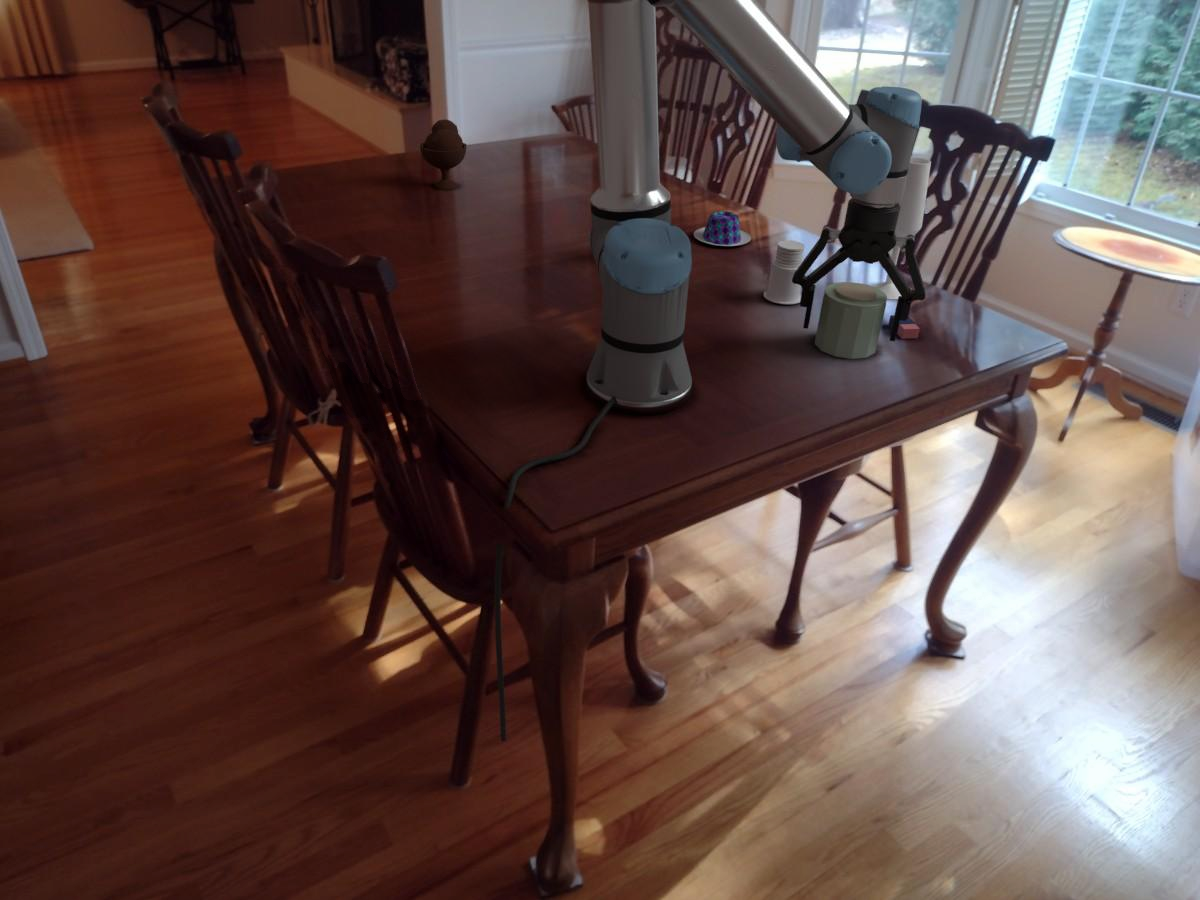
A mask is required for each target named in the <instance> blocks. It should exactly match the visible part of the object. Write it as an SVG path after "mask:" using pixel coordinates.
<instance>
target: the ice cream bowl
mask: <svg viewBox="0 0 1200 900" xmlns="http://www.w3.org/2000/svg"><path fill="white" fill-rule="evenodd" d="M419 150H420V153H421V156H422V157H423V159H424V160H425V161H426V162H427V163H428V164H429V165H430V166H431V167H434V168H435V169H439V170H440V172H441V179H439V180H437V181H436V182H435V184H434V188H435V189H438V190H444V191H446V190H454V189H456V188H458V184H457V182H455V181H454V180H452V179H451V178H450V173H449V172H450V170H451V169H453V168H456V167H457V166H459V165H460V164H461V163H462V162H463V160H464V159H465V157H466V154H467V143H465V142H463V138H462V136H461V135H460V133H459V129H458V126H457V124H456V123H454V122H453V121H452V120H449V119H438V120H437V121H436V122H435V123H434V124H433V125H432V126H431V132H430V133H429V134H428V135H427V136H426V138H425V140H424V142H422V143H420V146H419Z"/></svg>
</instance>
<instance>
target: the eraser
mask: <svg viewBox="0 0 1200 900" xmlns="http://www.w3.org/2000/svg"><path fill="white" fill-rule="evenodd" d="M894 315H895V314H893V315H890V316H889V320H888V327H889V328H890V329H891V328H892V323H893V319H894ZM920 329H921V328H920V327H919V326H918V325H917V324H916V322H915V321H914V320H912V318H910V317H909V316H908V318H907V320H906V321H902V320H900V321H899V325H898V329H897V334H896V335H898V337H899V338H900V339H901V340H906V339H907V340H908V339H918V337H919V334H920Z"/></svg>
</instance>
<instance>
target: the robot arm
mask: <svg viewBox="0 0 1200 900" xmlns="http://www.w3.org/2000/svg"><path fill="white" fill-rule="evenodd" d="M586 1H587V3H588V15H589V16H588V18H589V19H588V20H589V34H590V49H591V51H590V53H591V67H592V82H593V96H594V110H595V111H594V114H595V115H594V116H595V130H596V146H597V161H598V179H599V187H598V188H597V189H596V190H595V191H594V192H593V194H592V195H591V197H590V200H589V201H590V215H591V228H590V234H589V242H590V249H591V253H592V256H593V258H594V260H595V264H596V268H597V272H598V275H599V280H600V283H601V321H600V322H601V323H600V324H601V325H600V326H601V327H600V339H599V341H598V344H597V347H596V349H595V352H594V354H593V357H592V359H591V362H590V365H589V367H588V369H587V372H586V391H587V394H588V395H589V396H590V398H592V400H593V401H595V402H596V403H598V404H600V405H601V406H603V408H602V409H601V410H600V411H599V413H598V414H597V416H596V417H595V418H594V419H593V421H592V422H591V423H590V425H589V426H588V428H587V429H586V431H585V433H584V436H583V437H582V439H581V440H580V442H579V443H578V444H577V445H576V446H574V447H573V448H571V449H569V450H567V451H564V452H561V453H557V454H553V455H549V456H545V457H540V458H536V459H534V460H531V461H529V462H527V463H525V464H524V465H522V466H520V467H519V468H518V469H517V470H515V472H513V474H512V476H511V478H510V481H509V485H508V489H507V493H506V496H505V499H504V502H503V509H509V508H510V506H511V504H512V500H513V497H514V494H515V490H516V485H517V483H518V480H519V478H520V477H521V476H522V475H523V474H524V473H525V472H526V471H528V470H530V469H532V468H534V467H538V466H541V465H545V464H549V463H553V462H557V461H562V460H564V459H567V458H570V457H572V456H573V455H575V454H577V453H578V452H580V451H581V450H582V449H583V448H584V447H585V446H586V445H587V444H588V442H589V440H590V438H591V436H592V434H593V432H594V430H595V429H596V427H597V426H598V425H599V423H600V422H601V421H602V420H603V418H604V417H605V416H606V414H608V412H609V411H610V410H614V411H616V412H621V413H626V414H631V415H632V414H634V415H654V414H655V415H656V414H662V413H667V412H669V411H673V410H675V409H677V408H680V407H681V406H683V405H684V404H686V403H687V402H688V400H689V399H690V397H691V394H692V385H693V377H692V374H693V372H692V368H691V367H690V366H689V361H688V358H687V353H686V350H685V346H684V337H685V336H684V335H685V325H686V316H687V306H688V305H687V304H688V295H689V294H688V293H689V286H690V285H689V284H690V274H691V271H692V266H693V265H692V264H693V257H692V256H693V255H692V244H691V241H690V238H689V236H688V235H687V234H686V232H685V231H683V230H682V228H680V227H678V226H677V225H672V202H671V193H670V191H669V190H668V189H667V188H666V187H664V186H663V185H662V183H661V181H660V144H659V143H660V140H659V139H660V138H659V110H658V109H659V106H658V105H659V103H658V99H659V98H658V64H657V63H658V62H657V60H658V59H657V24H656V22H657V21H656V19H657V18H656V17H657V16H656V8H658V7H659V8H661V7H664V8H666V9H667V10H668V11H669V13H671V14H672V16H674V17H675V18H676V19H677V20H678V22H680V23H681V24H682V26H683V27H684V28H686V30H687V31H688V32H689V33H690V34H691V35H692V36H693V37H694V38H695V39H696V40H697V41H698V42H699V44H701V45H702V46H703V48H705V49H706V51H707V52H708V53H709V54H710V55H711V56H712V57H713V58H714V59H715V60H716V62H718V63H719V64H720V65H721V66H722V67H723V69H724V70H725V71H726V72H728V73H729V75H730V76H731V77H732V78H733V79H734V80H735V81H736V82H737V83H738V84H739V85H740V86H741V87H742V88H743V89H744V90H745V91H746V92H747V94H748V95H749V96H750V97H751V98H752V99H753V100H754V101H755V102H756V103H757V104H758V105H759V106H760V107H761V108H762V109H763V111H765V113H766V114H767V115H768V116H769V117H770V118H771V119H772V120H773V121H774V122H775V123H776V124H777V125H776V136H775V139H776V141H775V142H776V150H777V153H778V155H779V157H780V158H781V159H782V160H785V161H795V162H797V163H801V162H809V163H811V164H812V165H813V167H815V168H816V169H817V170H819V171H820V172H821V173H822V174H824V176H825V177H827V179H828V180H830V181H831V183H832V184H833V185H834V186H835V187H836V188H837V189H839V190H842V191H844V192H845V193H848V194H849V196H850V197H851V198H850V199H849V200H848V202H847V207H846V213H845V217H844V222H843V223H844V224H843V226H842V228H841V229H836V228H831V226H830V225H829V224H824V225H823V227H822V230H821V233H820V237H819V238H818V239H817V242H815V244H814V245H813V247H812V248H811V249H810V251H809V252H808V254H807V255H806V256H805V258H803V259H802V263H801V264H800V266H799V267H798V269H797V270H796V271H795V273H794V275H793V278H792V282H793V283H794V284H799V285H800V286H801V293H800V294H801V300H800V302H799V305H800V307H801V308H806V309H805V314H804V320H803V325H802V328H803V329H807V330H808V329H809V325H810V321H811V315H812V310H813V309H812V308H813V304H814V297H815V291H816V283H818V282H819V281H820V280H821V279H823V278H824V277H826V275H827V274H829V273H830V272H831V271H832V270H834V269H835V268H837V266H839V265H840V264H842V263H843V262H845V261H846V260H847V259H849V260H851V261H852V262H855V263H860V262H864V263H866V264H871V265H873V264H874V263H879V265H880V266H881V267H882V269H883V270H884V271H885V273H886V275H887V274H888V276H889V277H890V279H891V280H892V283H893V284H894V285H895V287H896V288H897V290H898V291H899V293H900V295H901V296H899V297H898V299H897V302H896V307H895V309H894V314H893V315H894V319H893V323H892V328H890V333H889V341H890V342H896V337H897V335H898V334H897V329H898V325H899V321H900V320H902V321H906V320H907V318H908V317H909V313H910V311H911V307H912V306H911V305H912V303H913V302H914V301H924V300H925V299H926V287H925V285H924V281H923V277H922V274H921V269H920V267H919V263H918V261H917V257H916V252H915V244H916V243H915V242H916V240H915V239H916V238H915V237H916V236H915V235H914V236H913V235H908V236H907V237H896V235H895V230H896V225H897V220H898V216H899V211H900V205H899V204H898V203H899V202H901V201H902V197H903V193H904V188H905V183H906V179H907V173H908V167H909V163H910V159H911V157H912V154H913V149H914V145H915V141H916V137H917V132H918V130H919V128H920V119H921V112H922V104H923V100H922V96H921V94H920V93H919V92H918V91H916V90H914V89H910V88H908V87H907V88H906V87H900V86H876V87H873V88H871V89H870V90H869V91H868V93H867V96H866V99H865V101H864V103H858V104H857V103H855V104H851V103H849V104H848V102H847V101H846V100H845V99H844V98H843V97H842V95H841V94H840V93H839V92H838V91H837V90H836V88H834V86H833V85H832V84H831V83H830V82H829V81H828V79H827V78H826V77H825V76H824V74H822V73H821V72H820V71H819V69H818V68H817V66H816V65H814V63H813V62H811V60H810V59H809V58H808V57H807V55H805V54H804V52H803V51H802V50H801V49H800V48H799V46H798V45H797V44H796V43H795V42H794V41H793V40H792V38H791V37H790V36H789V35H788V34H787V32H785V31H784V30H783V29H782V27H781V26H780V25H779V24H778V22H776V21H775V19H774V18H773V17H772V16H771V14H770V13H769V12H768V11H767V10H766V9H765V8H764V6H762V5H761V3H760V2H759V1H758V0H586ZM836 239H838V241H839V243H840V245H841V247H840V248H838V249H837V251H836V252H834V253H833V254H832V255H831V256H830V257H828V259H826V260H824V262H822V263H821V264H820V265H819V266H818V267H816V268H815V269H814V270H813V271H812V272H811V273H809V274H807V273H808V271H809V269H810V268H811V267H812V265H813V264H814V263H815V261H816V260H817V259H818V258H819V257H820V255H821V254H822V252H823V251H824V250H825V248H826V246H827V244H831V243H833V242H834V240H836ZM895 245H897V246H899V247H900V251H899V252H901V253H904V256H905V261H906V263H907V268H908V271H909V275H910V278H911V281H912V285H913V288H914V289H911V288H910V286H909V285H908V283H907V281H906V279H905V278H904V277H903V275H902V273H901V272H900V270H899V268H898V266H897V264H896V265H895V264H894V262H893V260H892V258H891V256H892V255H891V254H890V251H891V250H893V248H894V247H895ZM806 274H807V275H806ZM804 275H805V276H804ZM503 553H504V544H502V543H496V555H495V568H494V570H495V571H494V573H495V574H494V635H495V636H494V637H495V654H496V655H495V657H496V668H497V669H496V671H497V686H498V687H497V689H498V701H499V704H498V705H499V726H500V727H499V732H500V741H501V742H506V741H507V721H506V719H507V718H506V699H505V683H504V682H505V680H504V662H503V647H502V646H503V643H502V641H503V640H502V613H501V612H502V611H501V610H502V608H501V606H502V605H501V604H502V603H501V601H502V600H501V599H502V597H501V596H502V595H501V594H502V569H503Z"/></svg>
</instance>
